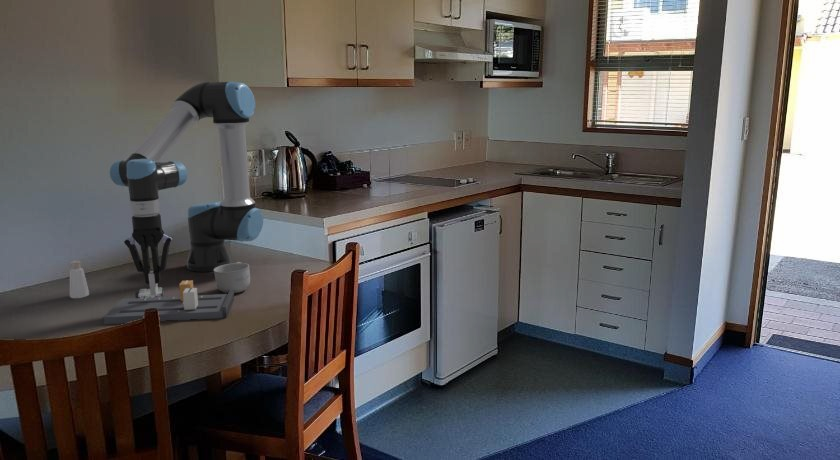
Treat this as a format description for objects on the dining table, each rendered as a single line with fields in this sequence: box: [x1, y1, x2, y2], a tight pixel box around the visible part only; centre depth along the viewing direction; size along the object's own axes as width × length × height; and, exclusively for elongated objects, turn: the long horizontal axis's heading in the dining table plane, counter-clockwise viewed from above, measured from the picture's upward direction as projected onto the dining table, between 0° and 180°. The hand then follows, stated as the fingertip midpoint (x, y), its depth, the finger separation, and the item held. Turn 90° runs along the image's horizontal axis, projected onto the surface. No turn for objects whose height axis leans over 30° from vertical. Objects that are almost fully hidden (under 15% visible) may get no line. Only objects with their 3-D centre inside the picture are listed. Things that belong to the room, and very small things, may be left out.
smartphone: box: [136, 286, 164, 298], centre depth 198 cm, size 7×1×15 cm
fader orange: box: [178, 279, 194, 301], centre depth 187 cm, size 4×3×5 cm
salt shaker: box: [69, 260, 90, 299], centre depth 198 cm, size 5×5×11 cm
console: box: [103, 290, 235, 325], centre depth 184 cm, size 16×32×3 cm, turn 98°
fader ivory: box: [183, 287, 198, 310], centre depth 180 cm, size 4×3×5 cm
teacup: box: [213, 261, 251, 294], centre depth 204 cm, size 14×11×8 cm
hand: (154, 293), depth 187 cm, fingers closed
